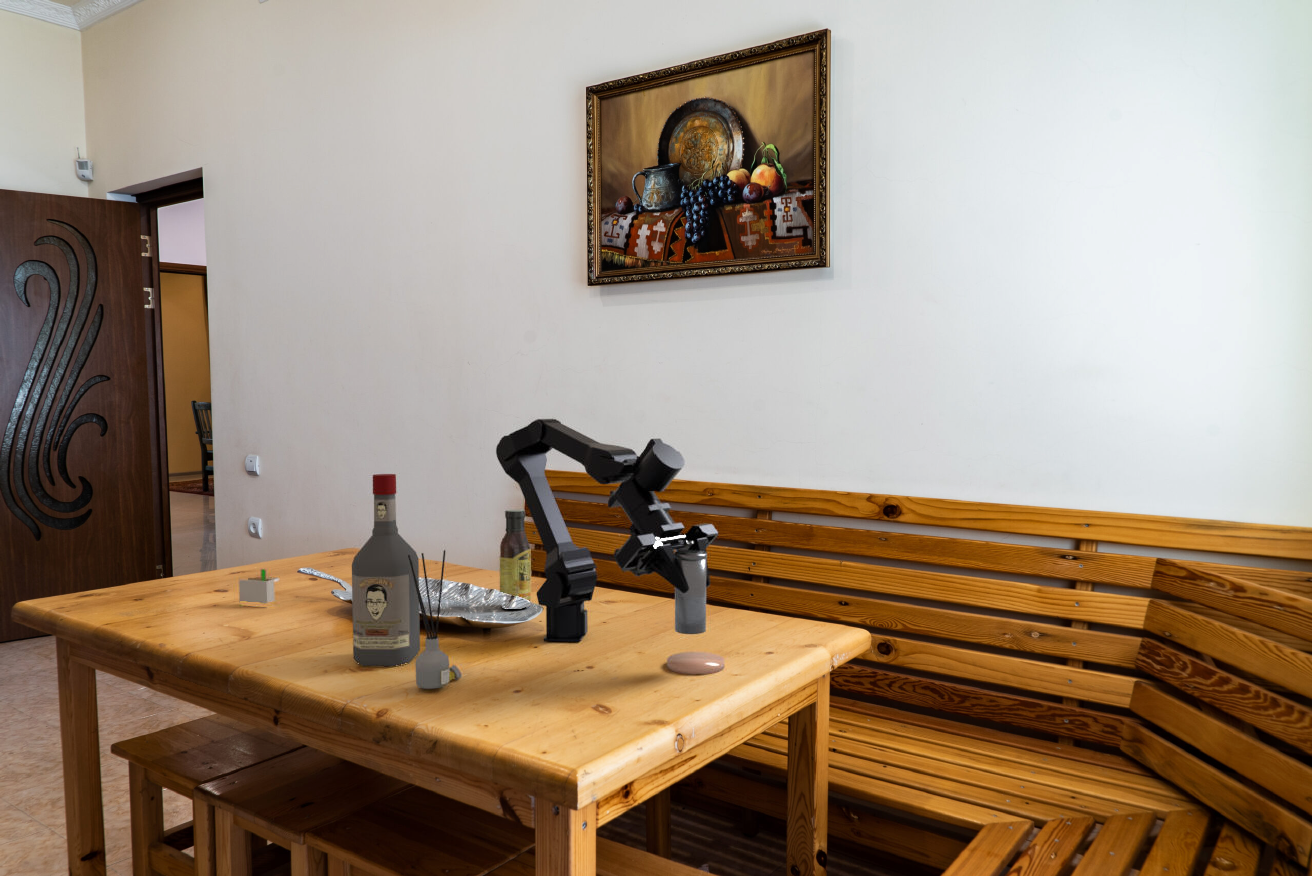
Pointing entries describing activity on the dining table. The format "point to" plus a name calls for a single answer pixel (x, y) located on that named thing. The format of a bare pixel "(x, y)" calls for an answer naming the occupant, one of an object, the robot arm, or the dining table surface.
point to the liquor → (385, 588)
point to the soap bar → (695, 663)
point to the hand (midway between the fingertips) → (697, 588)
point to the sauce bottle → (515, 557)
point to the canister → (691, 593)
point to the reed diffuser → (432, 647)
